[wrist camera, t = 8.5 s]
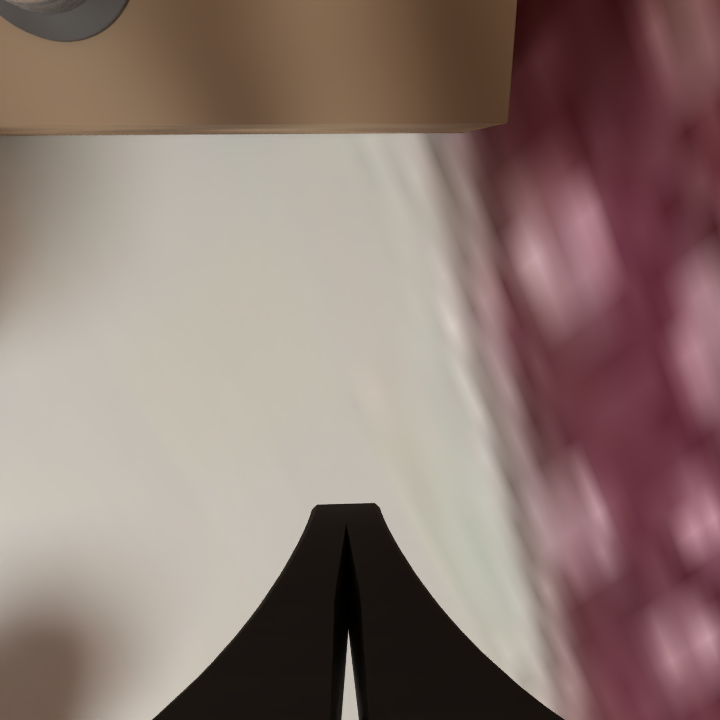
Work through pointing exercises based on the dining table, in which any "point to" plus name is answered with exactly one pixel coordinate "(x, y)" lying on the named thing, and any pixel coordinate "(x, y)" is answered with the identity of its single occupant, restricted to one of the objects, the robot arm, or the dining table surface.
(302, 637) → the robot arm
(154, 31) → the jamb
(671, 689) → the dining table surface
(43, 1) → the lock bar
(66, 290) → the dining table surface
